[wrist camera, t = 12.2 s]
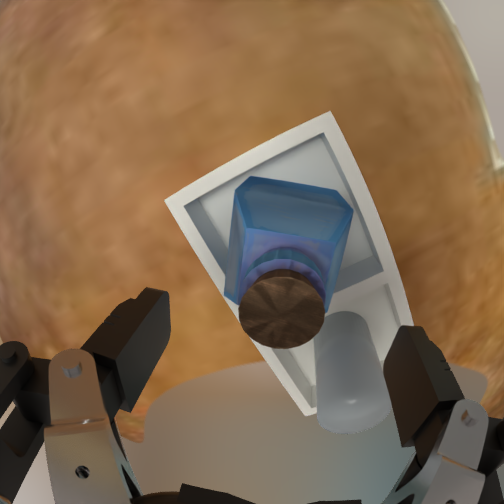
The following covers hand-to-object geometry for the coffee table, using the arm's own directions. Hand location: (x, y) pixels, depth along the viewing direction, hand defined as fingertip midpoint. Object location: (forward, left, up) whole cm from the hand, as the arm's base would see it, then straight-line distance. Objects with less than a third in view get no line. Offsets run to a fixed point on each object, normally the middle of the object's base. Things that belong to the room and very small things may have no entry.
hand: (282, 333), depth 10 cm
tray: (+5, +3, -14) cm, 15 cm away
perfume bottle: (0, 0, -13) cm, 13 cm away
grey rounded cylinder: (+9, +6, -13) cm, 17 cm away
